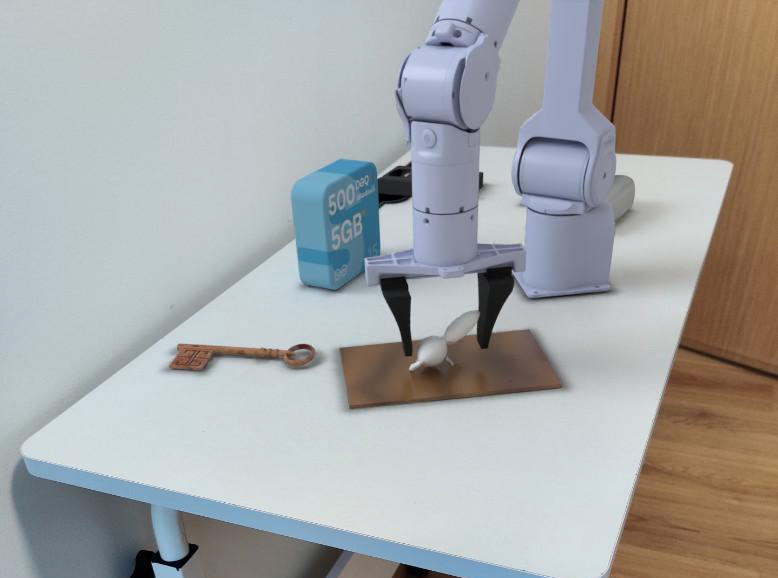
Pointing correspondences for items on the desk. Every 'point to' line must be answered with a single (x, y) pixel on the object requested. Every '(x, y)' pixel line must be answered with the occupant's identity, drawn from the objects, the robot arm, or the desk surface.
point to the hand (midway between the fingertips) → (445, 348)
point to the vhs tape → (402, 181)
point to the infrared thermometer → (621, 195)
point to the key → (202, 357)
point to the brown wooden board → (446, 371)
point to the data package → (336, 222)
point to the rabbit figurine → (444, 341)
